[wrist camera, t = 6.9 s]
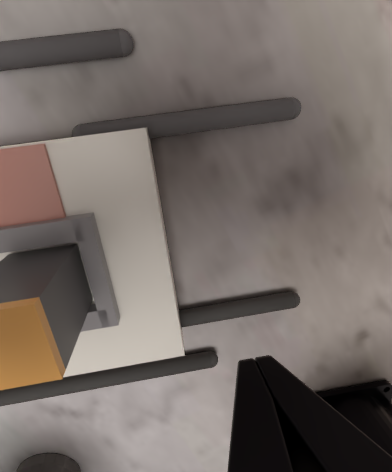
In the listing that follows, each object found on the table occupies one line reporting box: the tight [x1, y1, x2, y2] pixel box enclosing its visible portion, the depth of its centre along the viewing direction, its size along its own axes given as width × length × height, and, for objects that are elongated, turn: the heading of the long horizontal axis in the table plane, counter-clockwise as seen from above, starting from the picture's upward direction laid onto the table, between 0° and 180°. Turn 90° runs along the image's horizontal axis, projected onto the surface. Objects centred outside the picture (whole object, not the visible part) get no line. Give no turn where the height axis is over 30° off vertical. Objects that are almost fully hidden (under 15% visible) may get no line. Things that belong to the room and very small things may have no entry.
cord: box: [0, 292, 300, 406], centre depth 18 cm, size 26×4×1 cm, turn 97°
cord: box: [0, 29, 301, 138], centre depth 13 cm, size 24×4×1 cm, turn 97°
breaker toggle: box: [0, 244, 93, 390], centre depth 12 cm, size 3×3×5 cm
